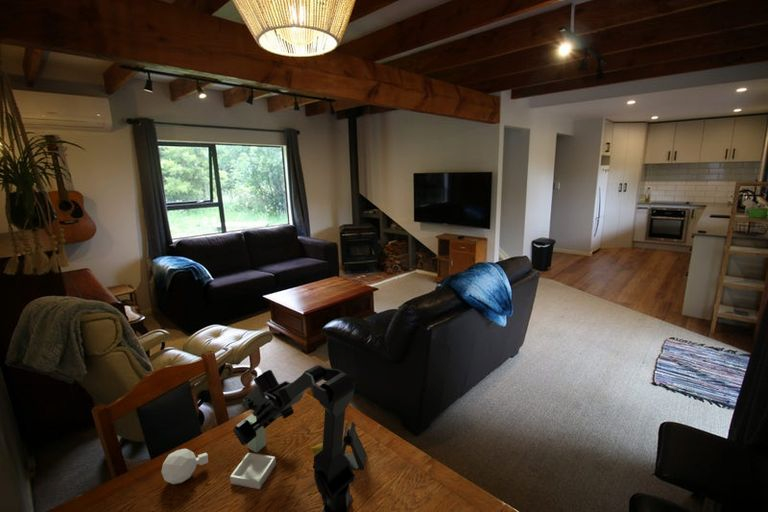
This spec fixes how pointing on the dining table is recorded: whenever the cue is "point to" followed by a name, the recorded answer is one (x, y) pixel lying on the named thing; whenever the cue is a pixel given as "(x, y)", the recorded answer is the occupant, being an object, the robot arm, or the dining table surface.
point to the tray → (253, 470)
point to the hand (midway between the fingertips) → (252, 427)
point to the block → (259, 439)
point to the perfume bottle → (181, 465)
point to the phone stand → (353, 448)
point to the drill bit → (317, 448)
